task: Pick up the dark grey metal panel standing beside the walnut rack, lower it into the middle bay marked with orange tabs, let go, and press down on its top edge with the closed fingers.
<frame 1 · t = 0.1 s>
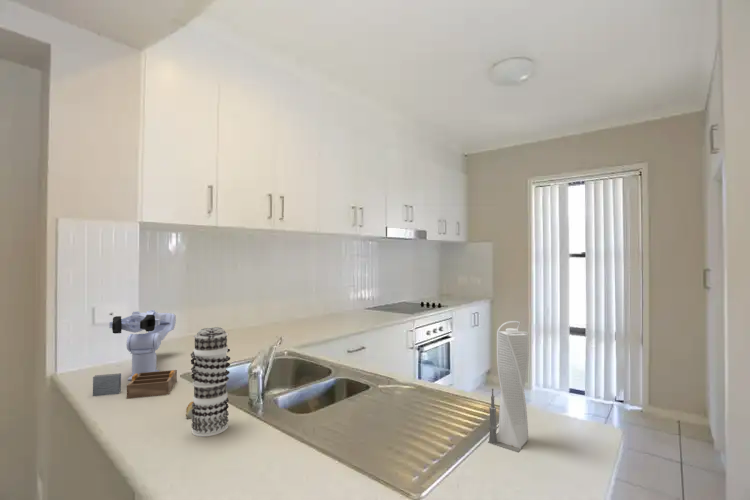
hand: (127, 325, 120), 22 cm above the worktop, tool horizontal, fingers open, 7 cm apart
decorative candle: (210, 429, 95), on the worktop
rack: (153, 389, 123), on the worktop
panel: (106, 394, 119), on the worktop
skyscraper: (511, 443, 88), on the worktop
pastry: (199, 414, 105), on the worktop
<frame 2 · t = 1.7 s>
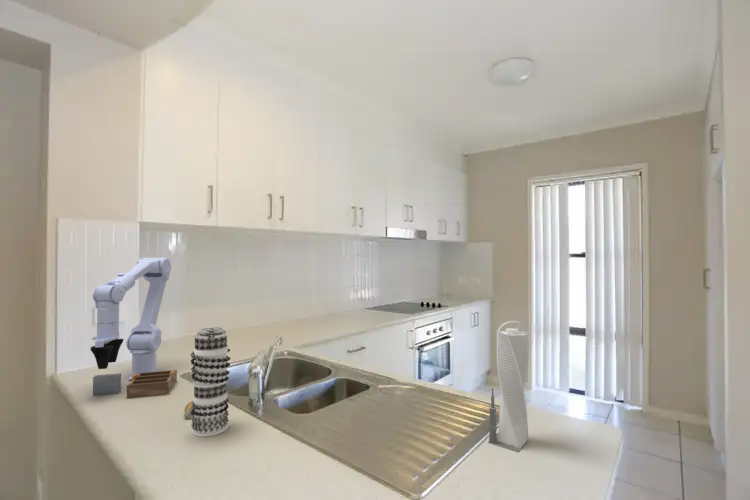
hand: (107, 365, 120), 9 cm above the worktop, tool pointing down, fingers open, 7 cm apart
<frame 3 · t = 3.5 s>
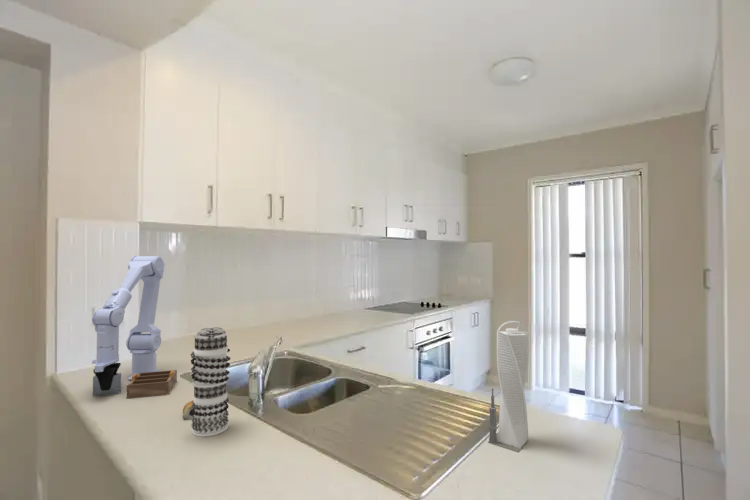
hand: (107, 388, 119), 2 cm above the worktop, tool pointing down, fingers closed on panel, 2 cm apart
panel: (106, 393, 119), on the worktop, touching gripper
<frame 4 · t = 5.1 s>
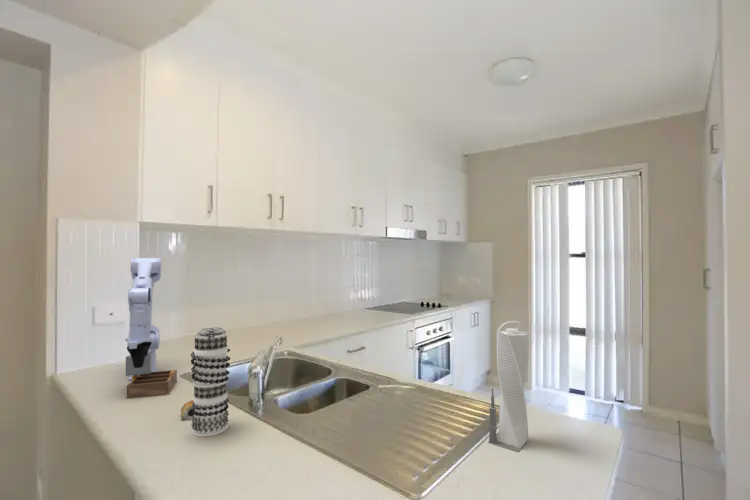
hand: (139, 366, 122), 8 cm above the worktop, tool pointing down, fingers closed on panel
panel: (139, 373, 122), point 5 cm above the worktop, touching gripper
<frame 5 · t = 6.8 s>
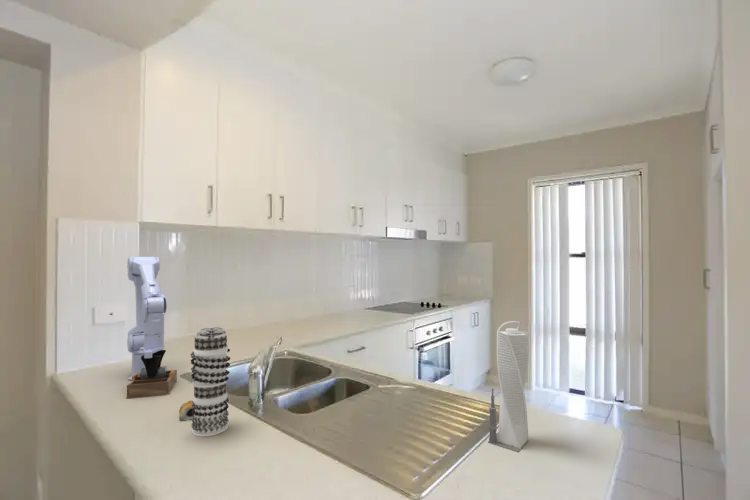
hand: (153, 375, 123), 5 cm above the worktop, tool pointing down, fingers open, 4 cm apart
panel: (153, 386, 123), point 1 cm above the worktop, touching rack
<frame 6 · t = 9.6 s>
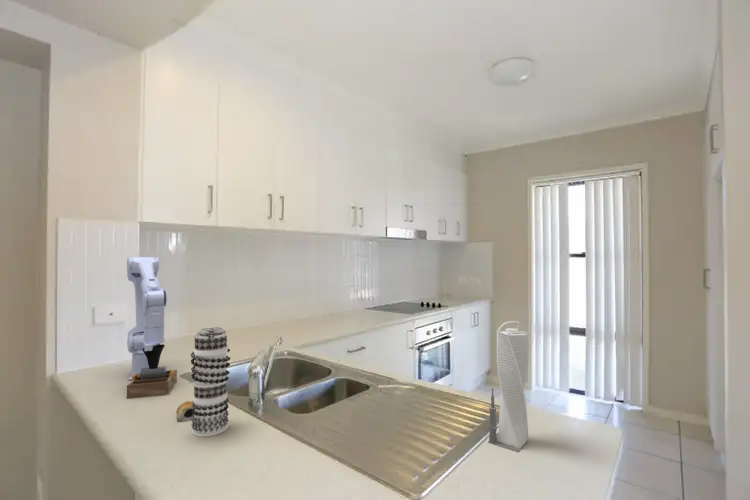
hand: (153, 368, 123), 7 cm above the worktop, tool pointing down, fingers closed, pressing on panel
panel: (153, 386, 123), point 1 cm above the worktop, touching gripper, rack
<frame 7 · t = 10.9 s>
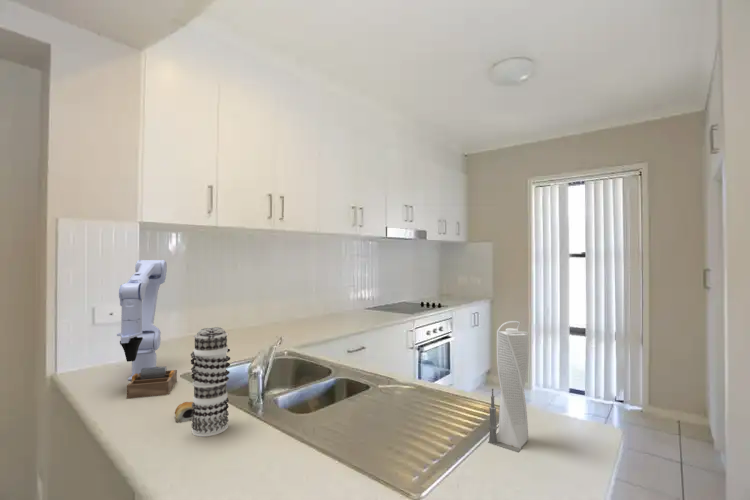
hand: (131, 360, 123), 9 cm above the worktop, tool pointing down, fingers closed
panel: (153, 386, 123), point 1 cm above the worktop, touching rack
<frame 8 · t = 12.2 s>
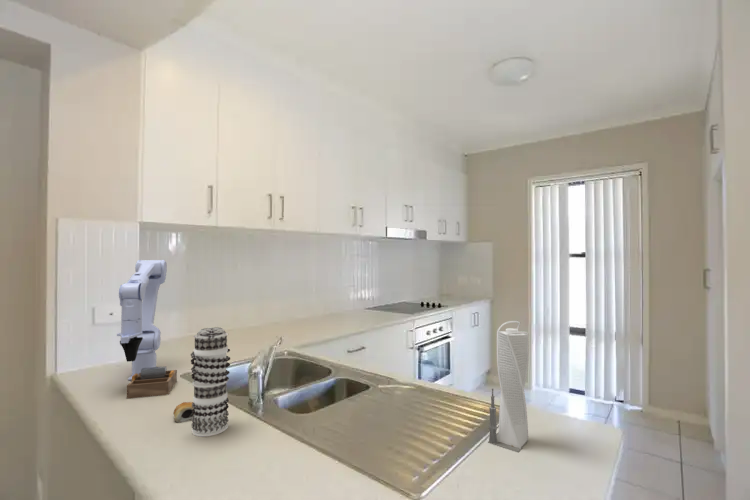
hand: (131, 360, 123), 9 cm above the worktop, tool pointing down, fingers closed
at the end: panel 0.1 cm off-centre on the rack, point 1.0 cm above the rack's base; panel tilted 0°; the gripper is holding nothing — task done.
